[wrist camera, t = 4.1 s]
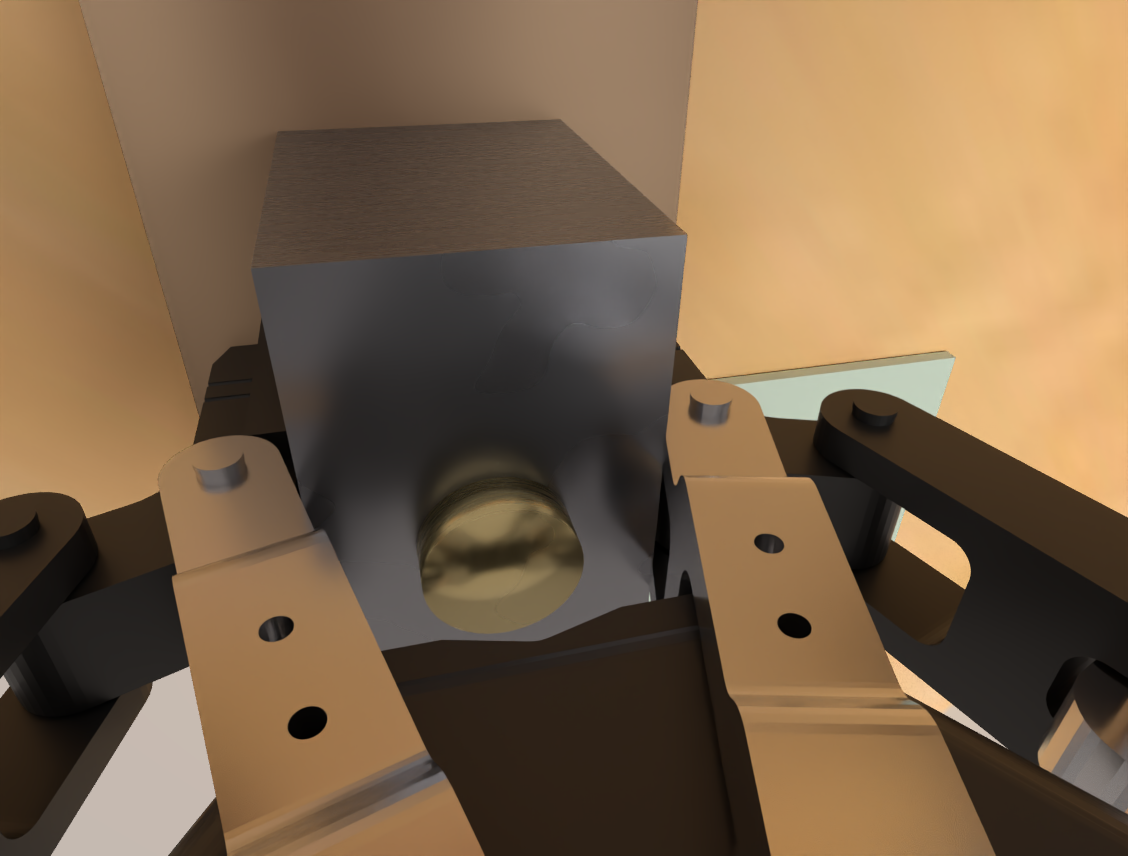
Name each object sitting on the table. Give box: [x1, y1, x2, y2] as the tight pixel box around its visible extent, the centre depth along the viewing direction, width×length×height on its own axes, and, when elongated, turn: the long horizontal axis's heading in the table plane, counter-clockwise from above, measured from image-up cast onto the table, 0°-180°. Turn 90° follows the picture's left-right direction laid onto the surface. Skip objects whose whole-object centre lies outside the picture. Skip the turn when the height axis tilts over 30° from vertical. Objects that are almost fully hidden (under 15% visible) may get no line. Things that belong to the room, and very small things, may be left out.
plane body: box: [79, 0, 698, 417], centre depth 15 cm, size 8×14×5 cm, turn 179°
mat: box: [649, 351, 956, 602], centre depth 24 cm, size 10×9×1 cm
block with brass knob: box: [251, 119, 687, 651], centre depth 11 cm, size 4×7×6 cm, turn 179°
